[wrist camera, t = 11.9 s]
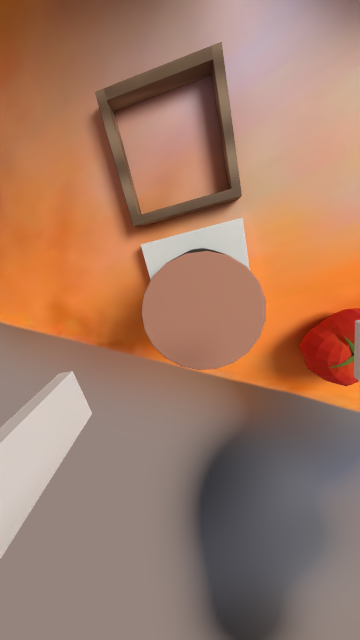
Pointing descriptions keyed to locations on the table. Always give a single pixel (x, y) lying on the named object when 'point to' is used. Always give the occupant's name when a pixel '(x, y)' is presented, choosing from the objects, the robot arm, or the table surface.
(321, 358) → the tomato
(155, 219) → the holder
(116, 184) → the table surface
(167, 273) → the coffee jar
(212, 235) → the tile
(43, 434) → the robot arm
